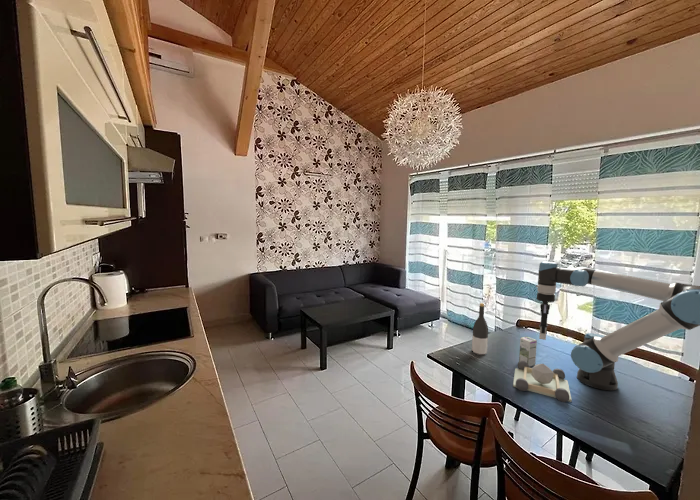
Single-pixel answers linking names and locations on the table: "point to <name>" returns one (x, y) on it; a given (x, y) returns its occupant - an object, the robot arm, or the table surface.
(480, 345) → the wine bottle
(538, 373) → the die
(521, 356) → the syrup box
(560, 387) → the chassis
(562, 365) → the table surface
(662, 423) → the table surface
